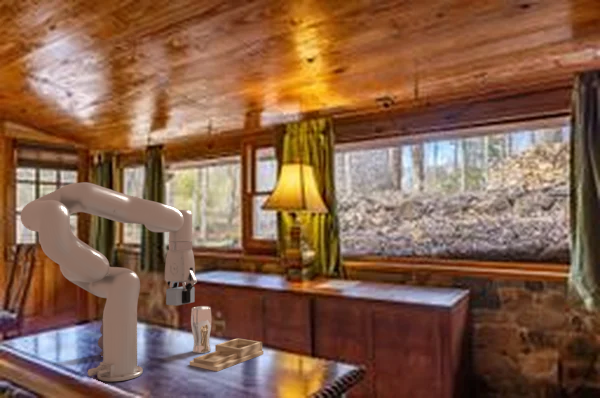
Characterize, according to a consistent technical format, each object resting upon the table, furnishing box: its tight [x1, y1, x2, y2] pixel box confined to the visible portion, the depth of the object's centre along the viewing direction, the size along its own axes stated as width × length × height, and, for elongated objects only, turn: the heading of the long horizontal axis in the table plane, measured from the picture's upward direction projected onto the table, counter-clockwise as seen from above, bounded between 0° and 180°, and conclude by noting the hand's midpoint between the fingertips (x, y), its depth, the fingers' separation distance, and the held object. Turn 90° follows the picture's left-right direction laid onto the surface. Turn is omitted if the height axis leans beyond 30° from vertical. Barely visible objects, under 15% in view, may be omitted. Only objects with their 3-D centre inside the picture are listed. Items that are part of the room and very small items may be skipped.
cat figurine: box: [97, 318, 103, 356], centre depth 171 cm, size 8×8×12 cm
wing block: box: [165, 286, 196, 307], centre depth 166 cm, size 8×4×5 cm, turn 150°
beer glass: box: [190, 305, 213, 355], centre depth 175 cm, size 7×7×15 cm
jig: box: [189, 337, 264, 372], centre depth 164 cm, size 22×12×4 cm, turn 145°
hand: (180, 301), depth 166 cm, fingers closed on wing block, 4 cm apart
